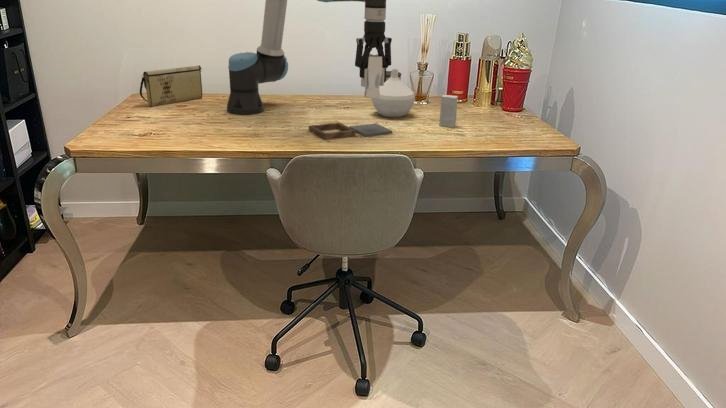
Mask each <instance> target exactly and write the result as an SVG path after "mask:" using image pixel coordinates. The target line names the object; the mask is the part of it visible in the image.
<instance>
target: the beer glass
mask: <svg viewBox="0 0 726 408" xmlns="http://www.w3.org/2000/svg"><path fill="white" fill-rule="evenodd" d="M365 69H367V85H366V87H364V94H363V96H364V98H365V99H367V98H368V99H372V98H379V97H380V81H381V77H382V71H383V56H378V53H377V54H376V53H375V54H374V53H370V55H369V56H368V61H367V64H366V67H365Z"/></svg>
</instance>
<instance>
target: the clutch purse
mask: <svg viewBox="0 0 726 408" xmlns="http://www.w3.org/2000/svg"><path fill="white" fill-rule="evenodd" d="M201 72H202V67H201V65H190V66H182V67H181V66H180V67H174V68H173V67H172V68H166V69H157V70H146V71H143V73H142V75H141V81H140V86H139V94H140V97H141V99H143V100H144V101H145V102H146V103H147V105H148V106H149V107H150V108H151V107H155V106H161V105H167V104H168V105H169V104H173V103H180V102H187V101H191V100H198V99H199V100H200V99H203V84H202V73H201ZM143 87H144V88H145V91H146V97H147V99H146V98H145V97H144V96H143Z"/></svg>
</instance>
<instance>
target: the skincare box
mask: <svg viewBox="0 0 726 408" xmlns="http://www.w3.org/2000/svg"><path fill="white" fill-rule="evenodd" d="M458 100H459V95H452V94H443V95H442V96H441V100H440V112H439V127H445V128H454V127H455V126H456V124H457V111H458Z"/></svg>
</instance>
